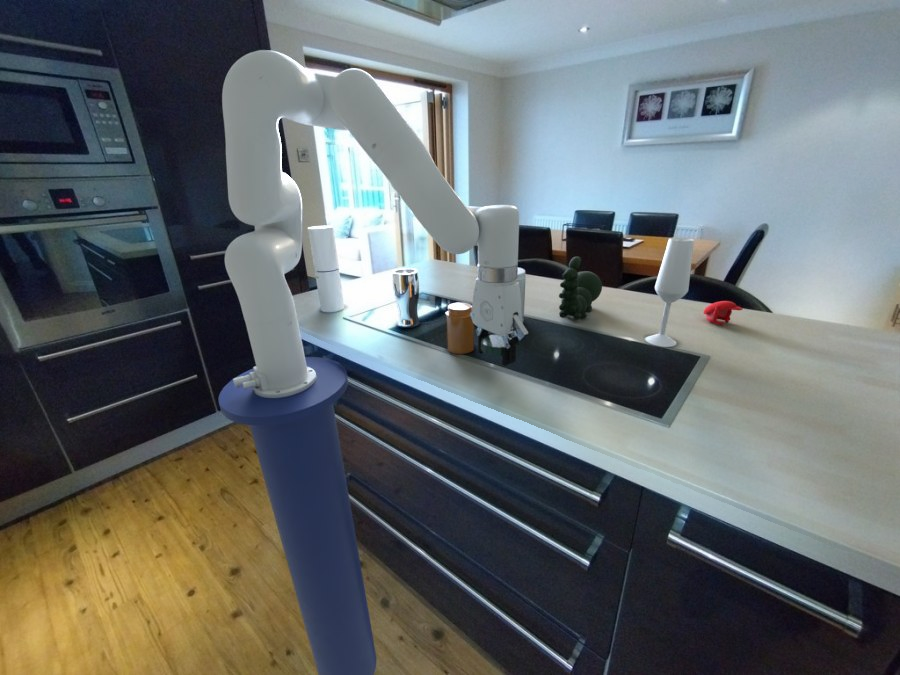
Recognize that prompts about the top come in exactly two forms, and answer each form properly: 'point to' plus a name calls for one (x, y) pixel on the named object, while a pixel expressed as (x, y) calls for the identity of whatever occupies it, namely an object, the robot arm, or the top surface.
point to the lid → (492, 345)
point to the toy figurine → (578, 291)
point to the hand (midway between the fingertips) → (496, 356)
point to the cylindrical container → (326, 268)
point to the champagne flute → (672, 282)
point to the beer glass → (406, 296)
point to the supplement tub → (521, 289)
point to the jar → (459, 328)
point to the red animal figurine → (720, 311)
